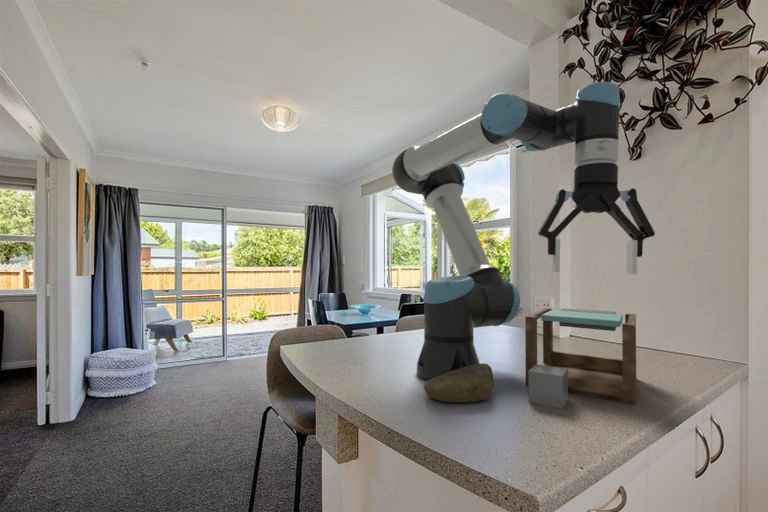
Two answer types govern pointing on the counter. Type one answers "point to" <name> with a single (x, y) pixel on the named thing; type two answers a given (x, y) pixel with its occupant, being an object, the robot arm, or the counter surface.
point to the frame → (588, 363)
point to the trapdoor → (584, 318)
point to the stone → (462, 384)
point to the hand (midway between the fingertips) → (592, 273)
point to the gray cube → (548, 385)
